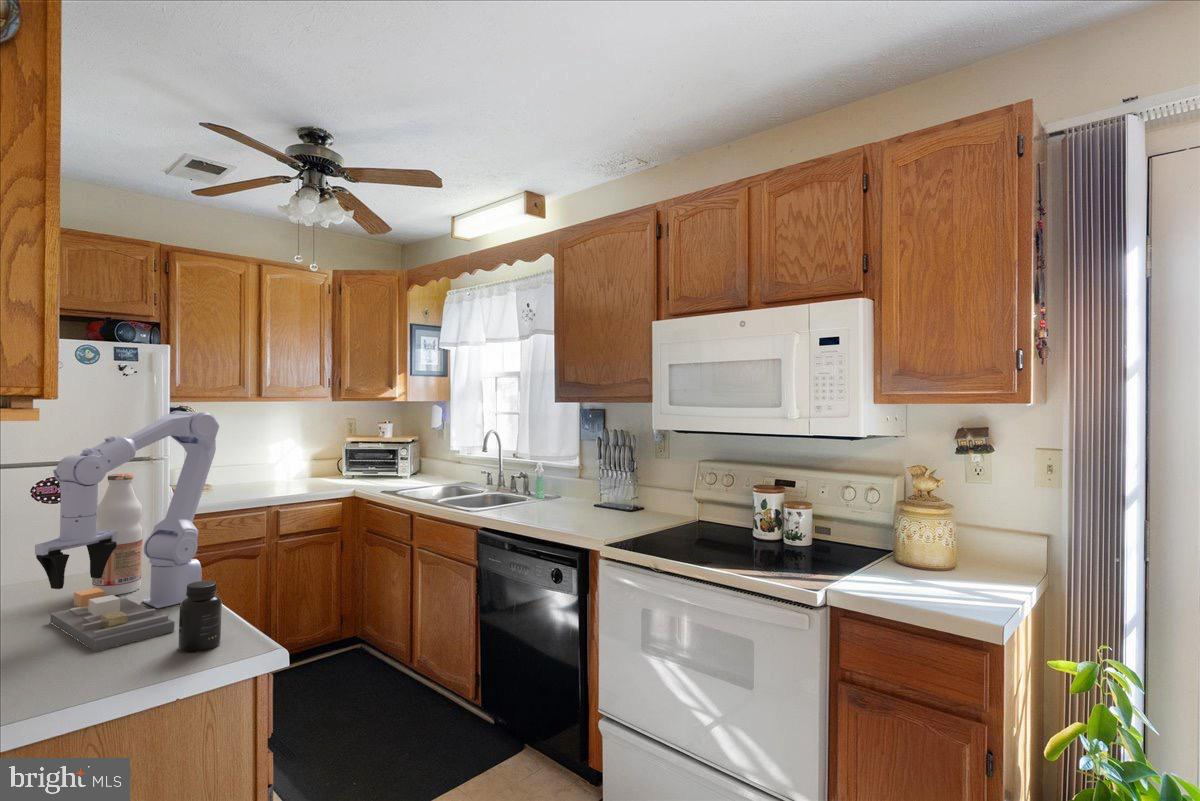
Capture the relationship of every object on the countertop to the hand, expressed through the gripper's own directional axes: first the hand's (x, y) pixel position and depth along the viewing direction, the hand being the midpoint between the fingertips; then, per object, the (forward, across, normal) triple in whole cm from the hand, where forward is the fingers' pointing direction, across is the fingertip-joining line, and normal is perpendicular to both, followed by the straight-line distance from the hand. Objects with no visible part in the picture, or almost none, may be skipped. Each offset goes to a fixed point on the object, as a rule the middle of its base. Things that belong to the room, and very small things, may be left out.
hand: (77, 582), depth 125 cm
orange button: (+6, -6, -4) cm, 9 cm away
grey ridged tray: (+10, -3, +5) cm, 11 cm away
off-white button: (+6, -3, +4) cm, 8 cm away
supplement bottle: (+10, 0, +30) cm, 31 cm away
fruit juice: (+10, -22, -17) cm, 29 cm away
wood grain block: (+7, +1, +11) cm, 13 cm away
